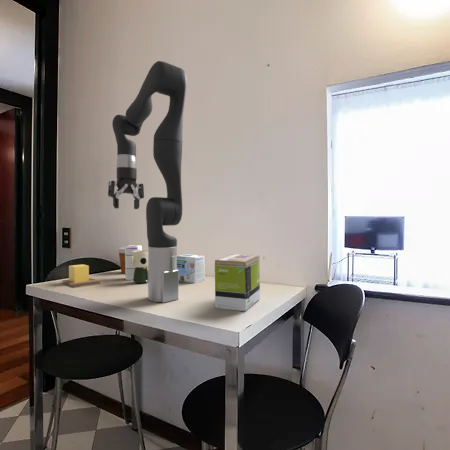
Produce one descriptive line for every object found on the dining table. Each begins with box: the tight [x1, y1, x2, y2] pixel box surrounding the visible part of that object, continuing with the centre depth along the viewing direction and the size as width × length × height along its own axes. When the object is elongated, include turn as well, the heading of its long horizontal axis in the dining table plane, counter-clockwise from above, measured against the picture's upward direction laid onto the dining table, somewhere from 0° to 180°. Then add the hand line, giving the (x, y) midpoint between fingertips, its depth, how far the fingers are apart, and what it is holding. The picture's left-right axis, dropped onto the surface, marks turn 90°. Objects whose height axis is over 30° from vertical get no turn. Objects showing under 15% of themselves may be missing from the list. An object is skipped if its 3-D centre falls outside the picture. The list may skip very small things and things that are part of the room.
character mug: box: [131, 249, 148, 284], centre depth 127 cm, size 11×7×13 cm, turn 149°
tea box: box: [214, 253, 261, 312], centre depth 97 cm, size 15×10×15 cm
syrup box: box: [124, 244, 143, 281], centre depth 134 cm, size 6×6×14 cm
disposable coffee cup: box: [117, 246, 126, 275], centre depth 149 cm, size 10×10×12 cm
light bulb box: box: [177, 253, 206, 284], centre depth 132 cm, size 11×7×11 cm, turn 56°
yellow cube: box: [68, 263, 90, 283], centre depth 125 cm, size 6×6×6 cm
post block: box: [62, 277, 101, 288], centre depth 125 cm, size 12×10×5 cm
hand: (126, 208), depth 123 cm, fingers open, 8 cm apart
